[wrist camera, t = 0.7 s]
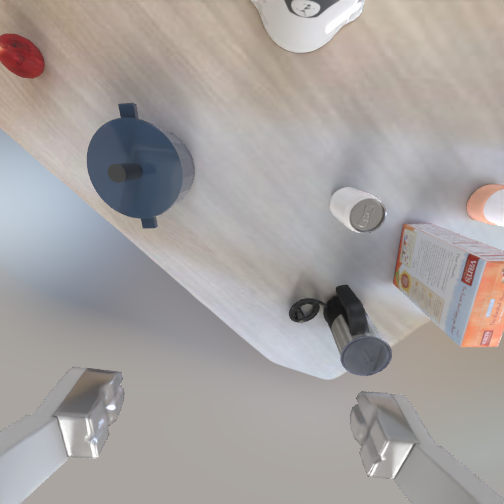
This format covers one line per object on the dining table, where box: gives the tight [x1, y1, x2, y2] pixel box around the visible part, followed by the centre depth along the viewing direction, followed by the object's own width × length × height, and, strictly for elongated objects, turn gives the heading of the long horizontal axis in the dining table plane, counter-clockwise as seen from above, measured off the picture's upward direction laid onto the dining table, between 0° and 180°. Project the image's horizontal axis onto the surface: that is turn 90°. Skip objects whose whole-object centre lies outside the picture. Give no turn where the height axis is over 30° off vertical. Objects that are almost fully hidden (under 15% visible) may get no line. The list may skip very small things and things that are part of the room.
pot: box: [118, 103, 194, 228], centre depth 47 cm, size 14×20×10 cm
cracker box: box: [393, 224, 504, 347], centre depth 45 cm, size 14×6×21 cm, turn 1°
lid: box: [87, 118, 183, 219], centre depth 40 cm, size 16×16×7 cm
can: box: [330, 187, 386, 233], centre depth 46 cm, size 6×6×12 cm
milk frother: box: [289, 285, 392, 376], centre depth 54 cm, size 14×16×15 cm
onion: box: [0, 34, 45, 78], centre depth 42 cm, size 6×6×8 cm
